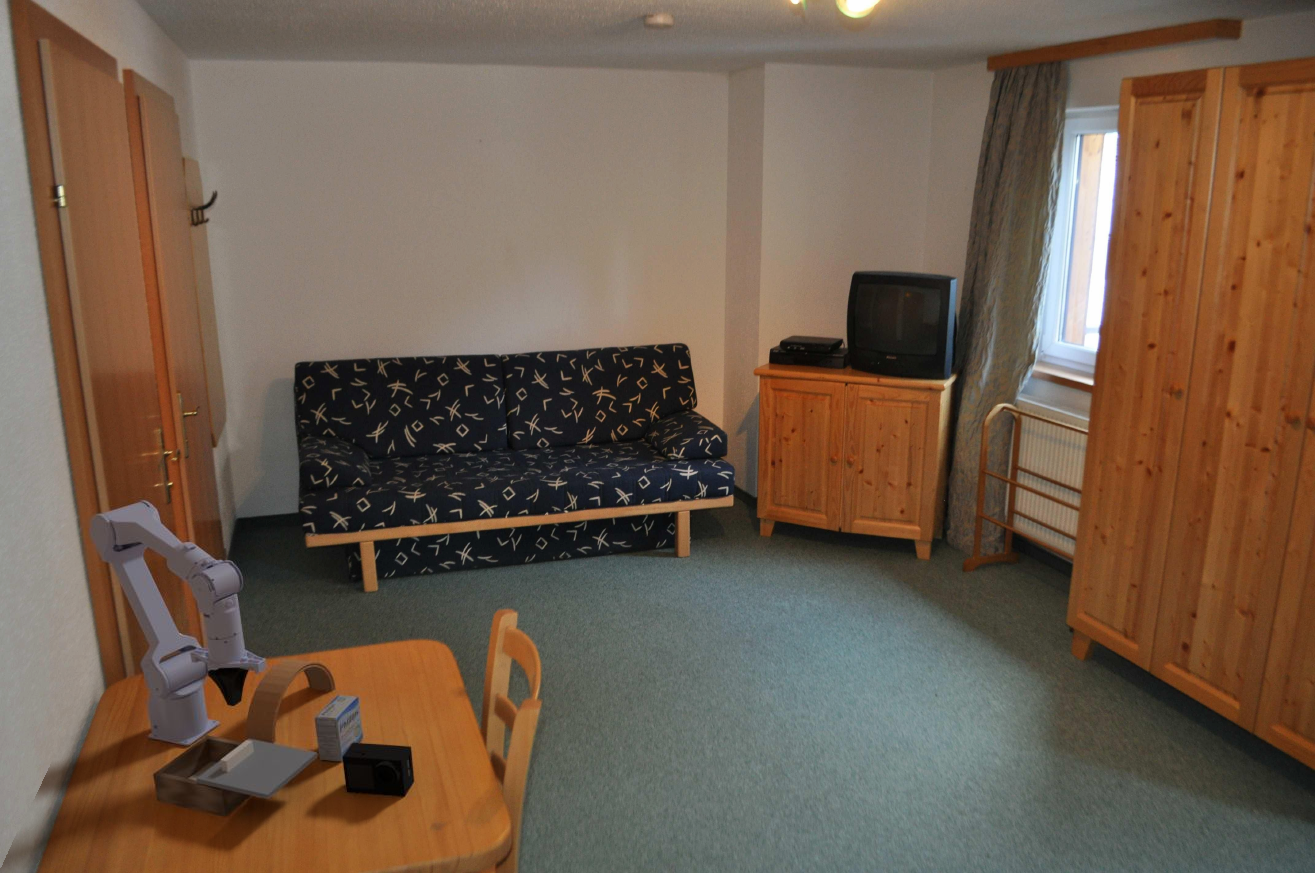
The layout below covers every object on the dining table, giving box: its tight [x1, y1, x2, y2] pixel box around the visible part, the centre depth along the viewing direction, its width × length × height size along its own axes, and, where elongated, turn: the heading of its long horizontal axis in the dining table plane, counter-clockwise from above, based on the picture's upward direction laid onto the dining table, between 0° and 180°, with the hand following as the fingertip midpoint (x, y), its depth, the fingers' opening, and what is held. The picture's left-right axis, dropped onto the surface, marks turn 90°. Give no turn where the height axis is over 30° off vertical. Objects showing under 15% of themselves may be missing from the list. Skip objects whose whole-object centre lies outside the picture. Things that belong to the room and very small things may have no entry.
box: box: [152, 734, 252, 818], centre depth 163 cm, size 14×12×5 cm
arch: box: [245, 658, 336, 744], centre depth 185 cm, size 6×20×10 cm, turn 164°
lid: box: [196, 739, 318, 800], centre depth 159 cm, size 14×12×3 cm
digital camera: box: [342, 742, 415, 798], centre depth 162 cm, size 10×5×7 cm, turn 82°
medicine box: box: [314, 694, 364, 763], centre depth 173 cm, size 8×4×9 cm, turn 168°
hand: (234, 702), depth 170 cm, fingers closed
